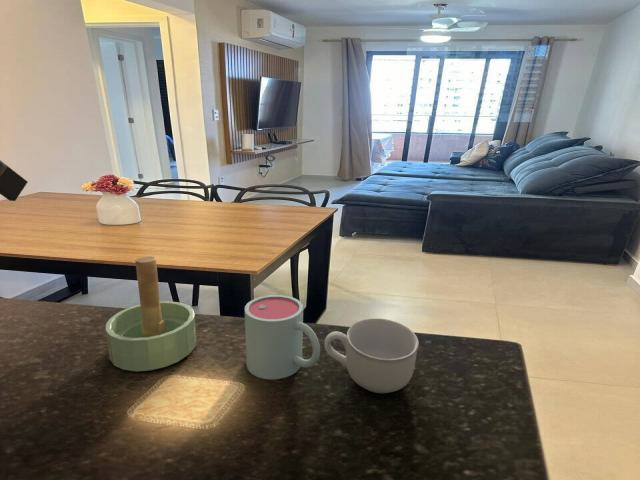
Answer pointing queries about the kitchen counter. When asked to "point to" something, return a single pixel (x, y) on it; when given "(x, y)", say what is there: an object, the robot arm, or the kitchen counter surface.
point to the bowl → (151, 338)
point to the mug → (277, 337)
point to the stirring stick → (149, 297)
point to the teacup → (377, 354)
